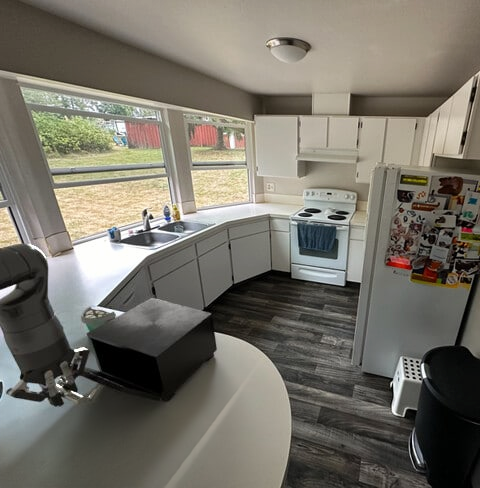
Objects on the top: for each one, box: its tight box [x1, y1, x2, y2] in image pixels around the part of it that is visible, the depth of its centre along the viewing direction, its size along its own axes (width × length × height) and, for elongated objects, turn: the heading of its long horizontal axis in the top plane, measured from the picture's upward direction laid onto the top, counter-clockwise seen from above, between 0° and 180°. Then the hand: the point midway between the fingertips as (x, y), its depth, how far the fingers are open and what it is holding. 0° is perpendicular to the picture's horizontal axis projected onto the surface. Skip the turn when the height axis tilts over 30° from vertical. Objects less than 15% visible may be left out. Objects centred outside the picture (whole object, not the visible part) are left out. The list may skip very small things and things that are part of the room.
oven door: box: [38, 362, 163, 405], centre depth 63 cm, size 6×26×16 cm
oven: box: [86, 297, 218, 402], centre depth 79 cm, size 20×26×17 cm
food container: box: [80, 306, 117, 332], centre depth 92 cm, size 12×6×10 cm, turn 76°
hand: (65, 399), depth 57 cm, fingers closed on oven door
